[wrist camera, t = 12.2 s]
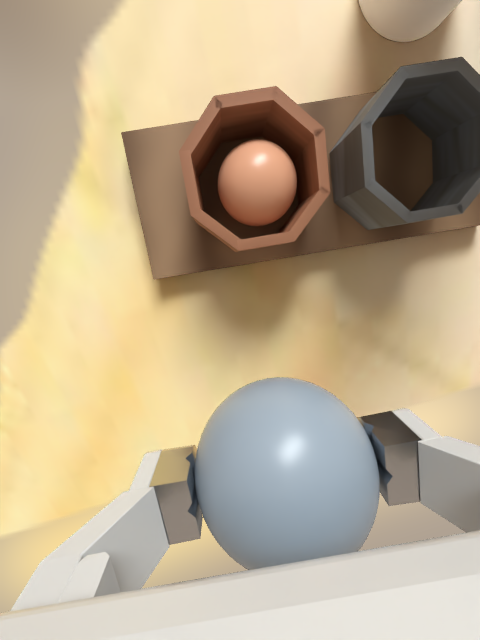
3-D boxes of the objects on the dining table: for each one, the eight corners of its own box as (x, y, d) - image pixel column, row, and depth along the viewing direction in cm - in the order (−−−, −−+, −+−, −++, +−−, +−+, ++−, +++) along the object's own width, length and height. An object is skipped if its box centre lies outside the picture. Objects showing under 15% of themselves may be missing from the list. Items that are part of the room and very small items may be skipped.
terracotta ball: (278, 149, 21) (304, 120, 16) (287, 223, 22) (313, 216, 18) (208, 158, 21) (214, 131, 16) (221, 233, 22) (230, 229, 17)
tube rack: (478, 85, 22) (579, 16, 16) (476, 224, 24) (566, 214, 18) (128, 140, 22) (88, 93, 15) (158, 277, 24) (134, 285, 18)
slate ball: (330, 344, 11) (420, 419, 6) (344, 467, 12) (429, 621, 7) (190, 368, 10) (157, 464, 6) (215, 489, 12) (207, 660, 7)
